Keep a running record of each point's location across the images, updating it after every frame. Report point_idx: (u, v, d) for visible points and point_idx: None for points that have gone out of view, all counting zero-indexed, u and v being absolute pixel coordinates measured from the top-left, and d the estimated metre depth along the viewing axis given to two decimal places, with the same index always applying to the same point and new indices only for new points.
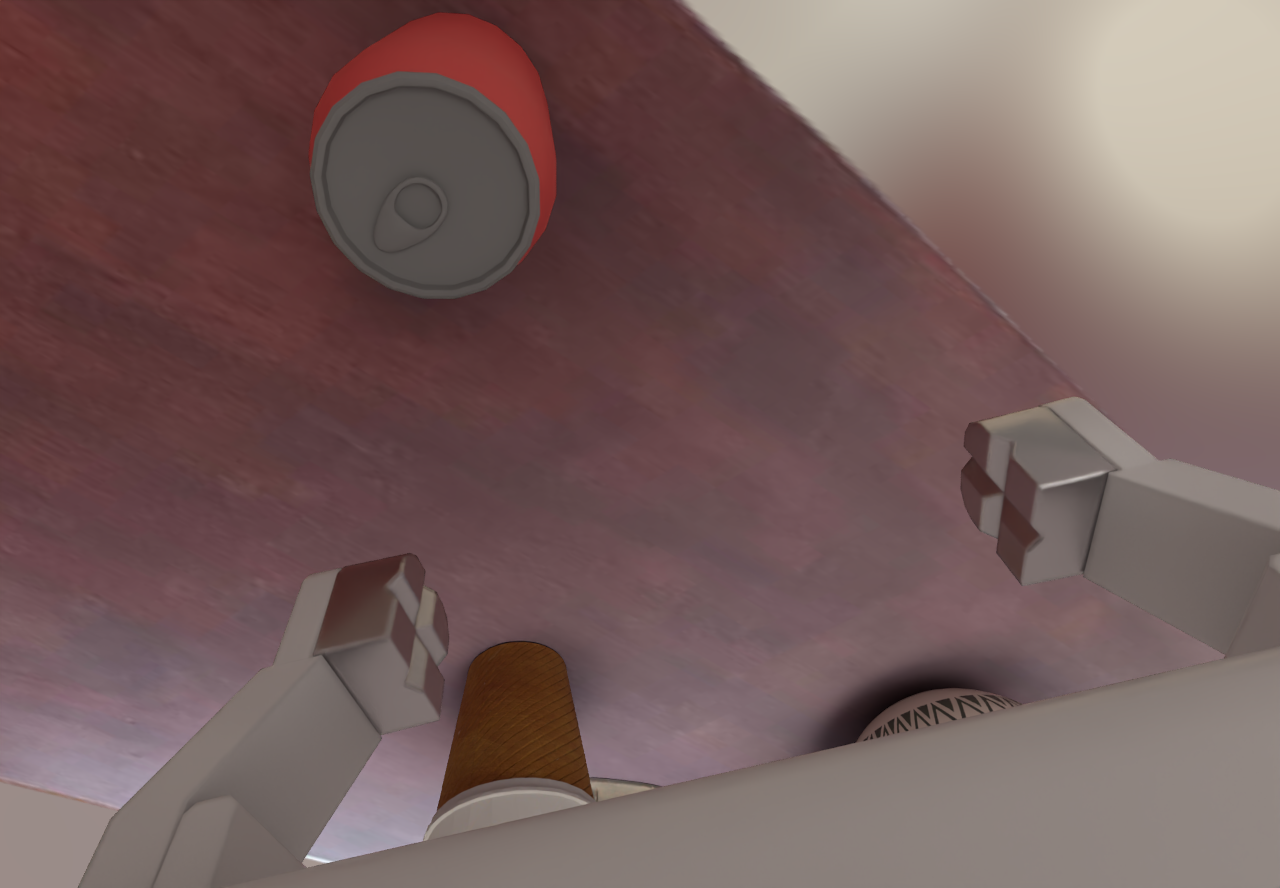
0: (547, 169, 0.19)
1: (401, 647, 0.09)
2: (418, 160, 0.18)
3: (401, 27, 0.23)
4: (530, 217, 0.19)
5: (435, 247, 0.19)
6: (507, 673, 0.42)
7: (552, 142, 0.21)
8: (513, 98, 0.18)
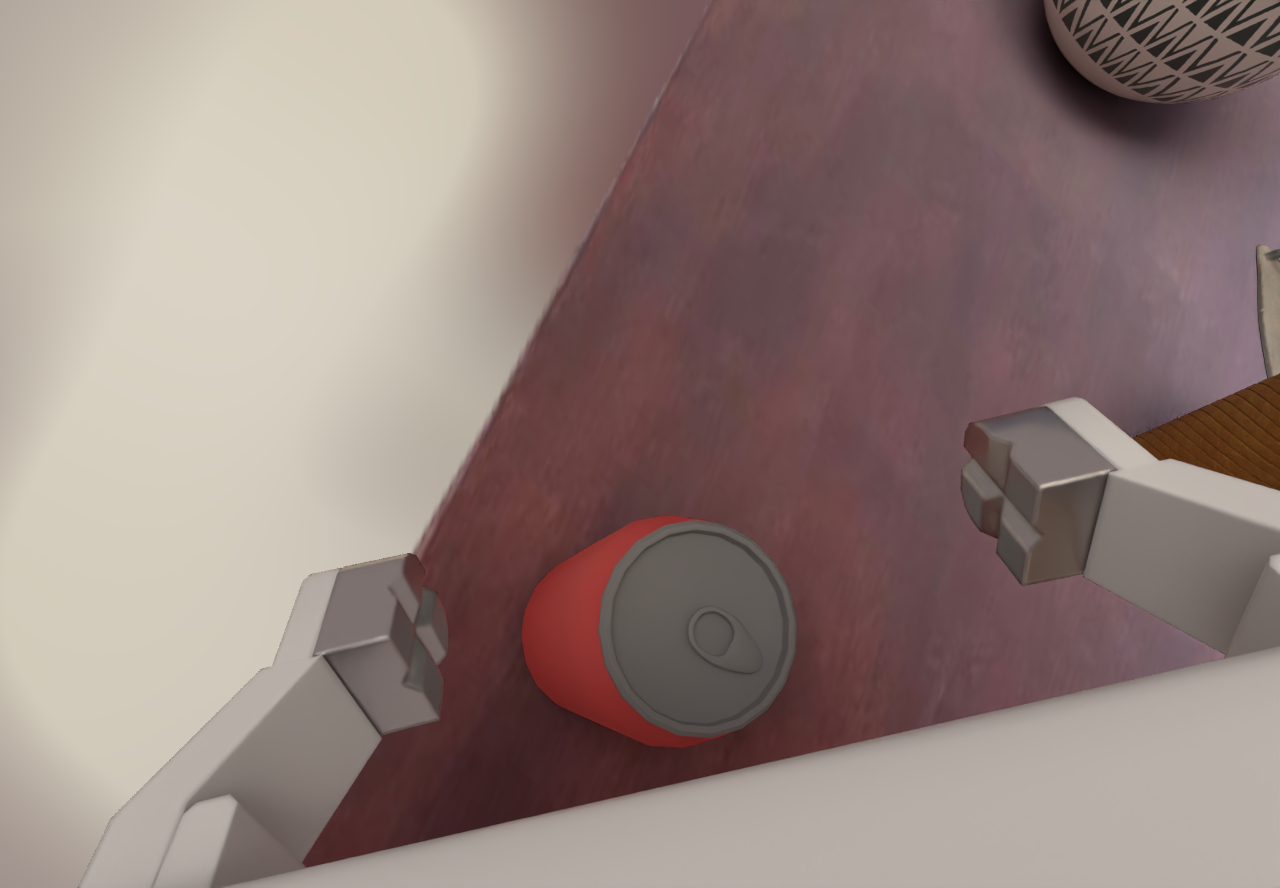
0: (650, 523, 0.21)
1: (400, 647, 0.09)
2: (673, 639, 0.19)
3: (549, 689, 0.26)
4: (698, 527, 0.20)
5: (745, 613, 0.20)
6: None
7: None
8: (598, 562, 0.20)
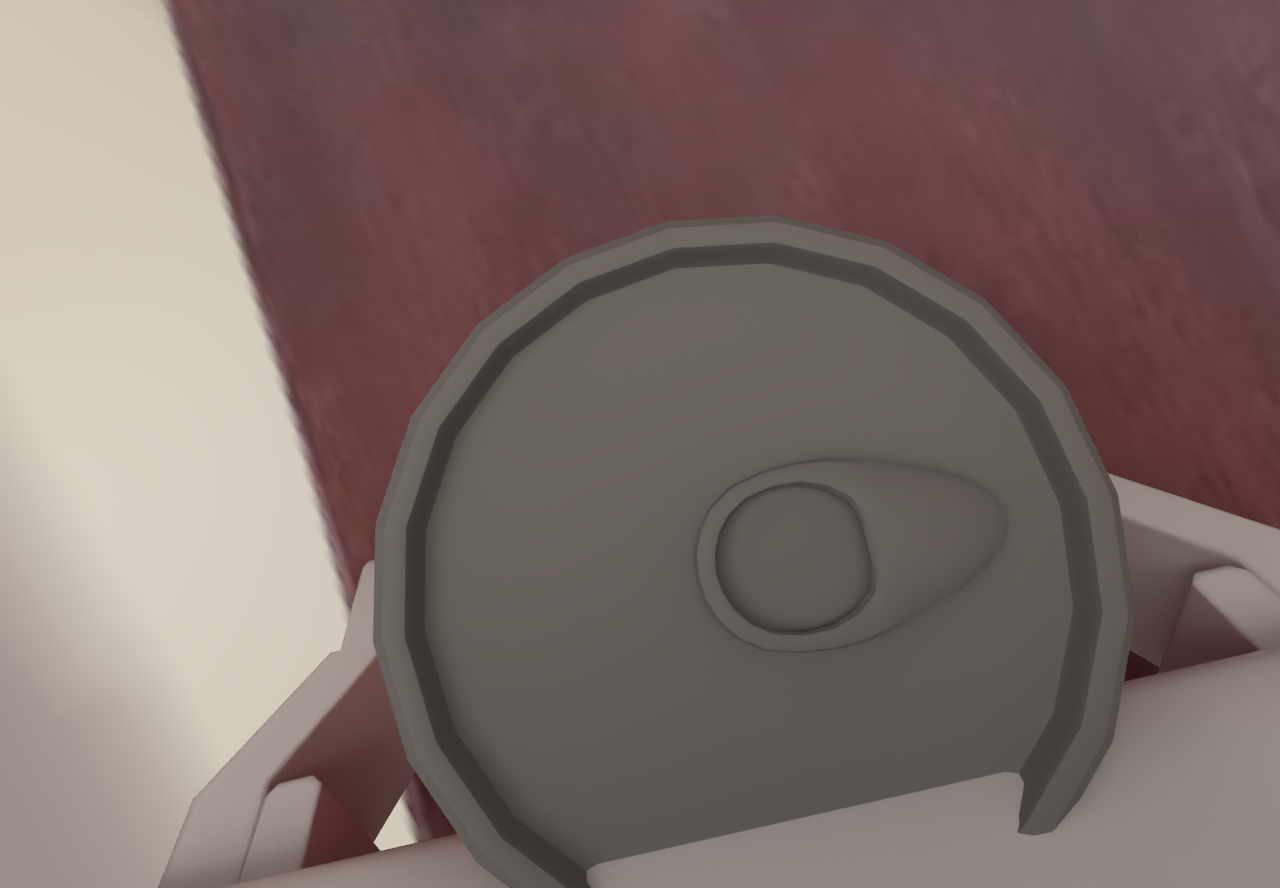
0: None
1: None
2: (706, 670, 0.05)
3: None
4: (501, 332, 0.06)
5: (834, 417, 0.06)
6: None
7: None
8: None
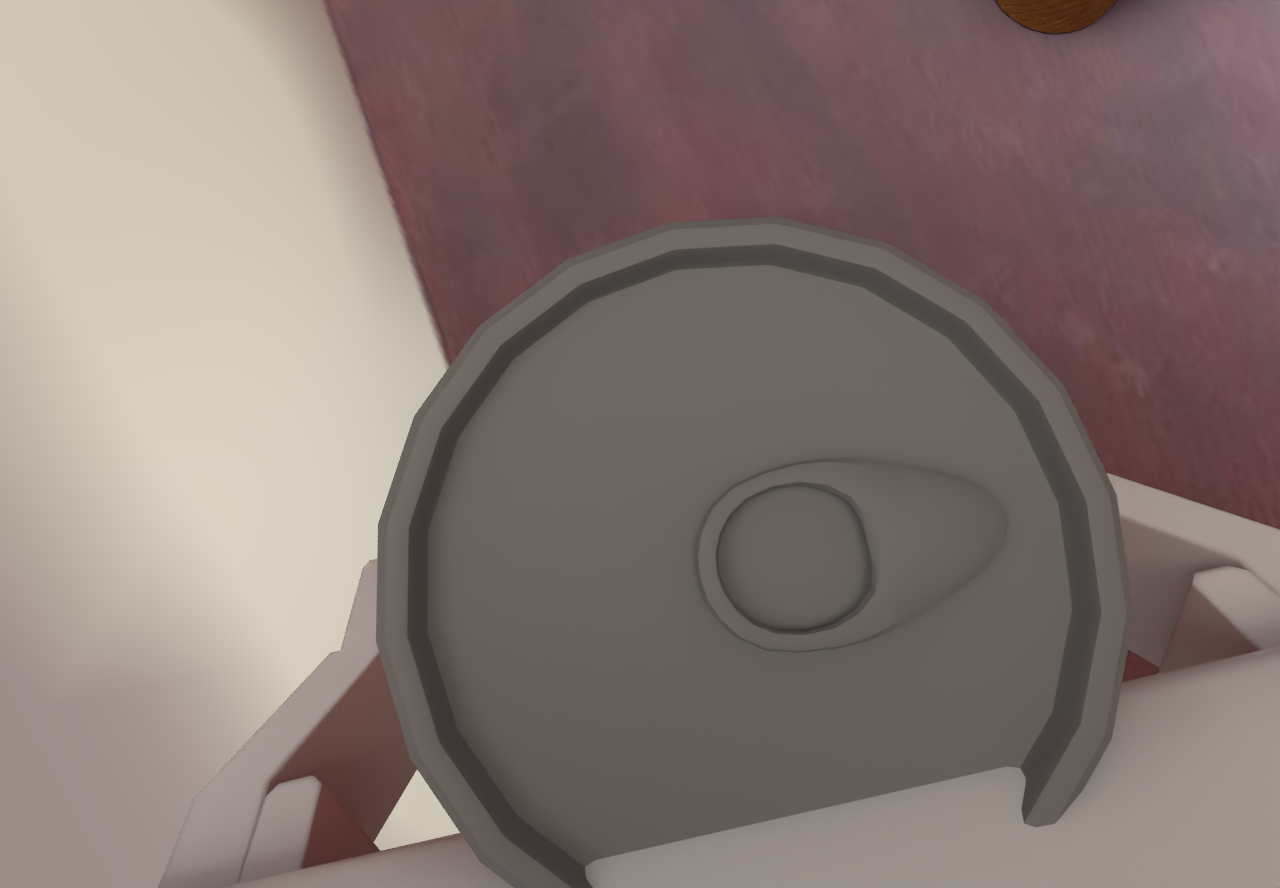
0: None
1: None
2: (707, 669, 0.05)
3: None
4: (501, 333, 0.06)
5: (836, 417, 0.06)
6: None
7: None
8: None
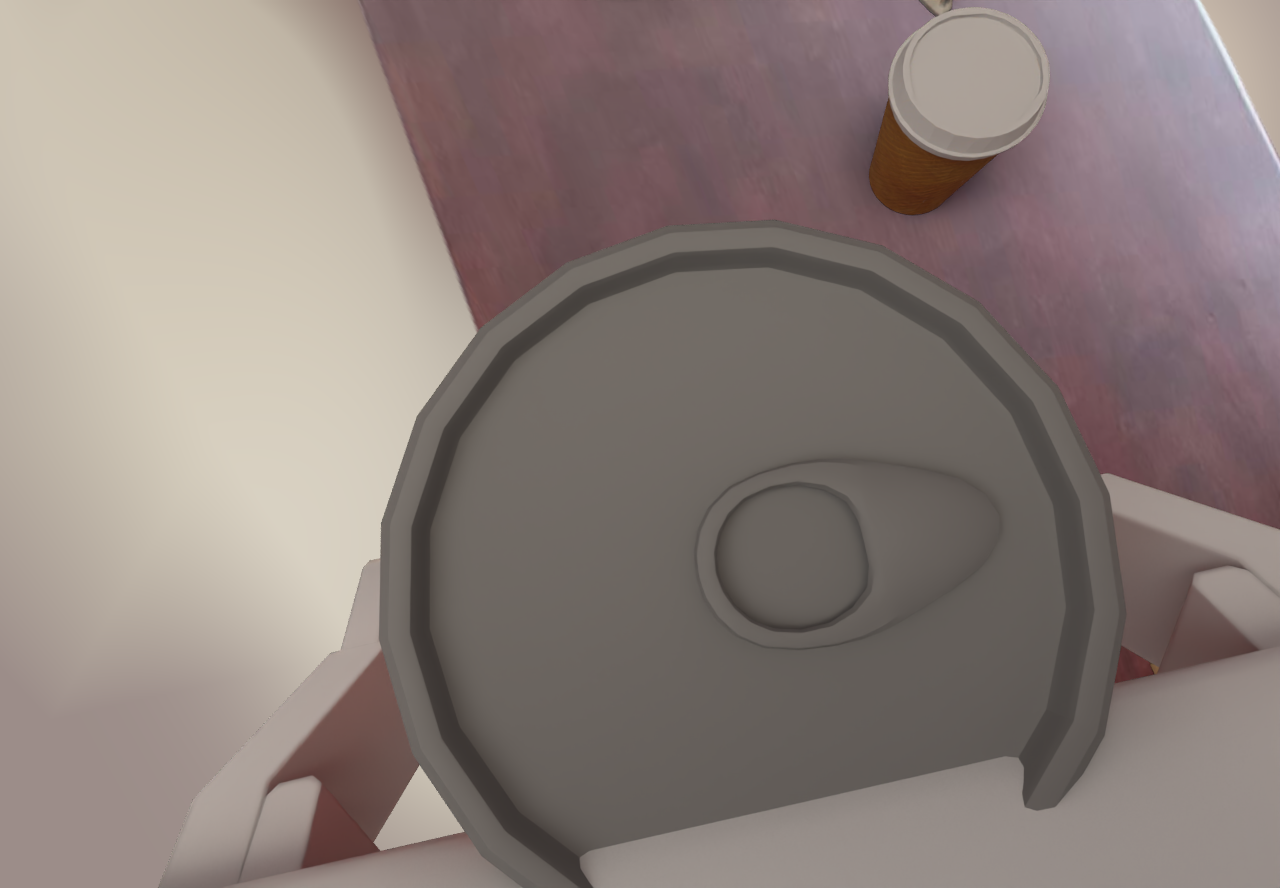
0: None
1: None
2: (705, 666, 0.06)
3: None
4: (503, 335, 0.06)
5: (833, 418, 0.06)
6: (904, 197, 0.52)
7: None
8: None
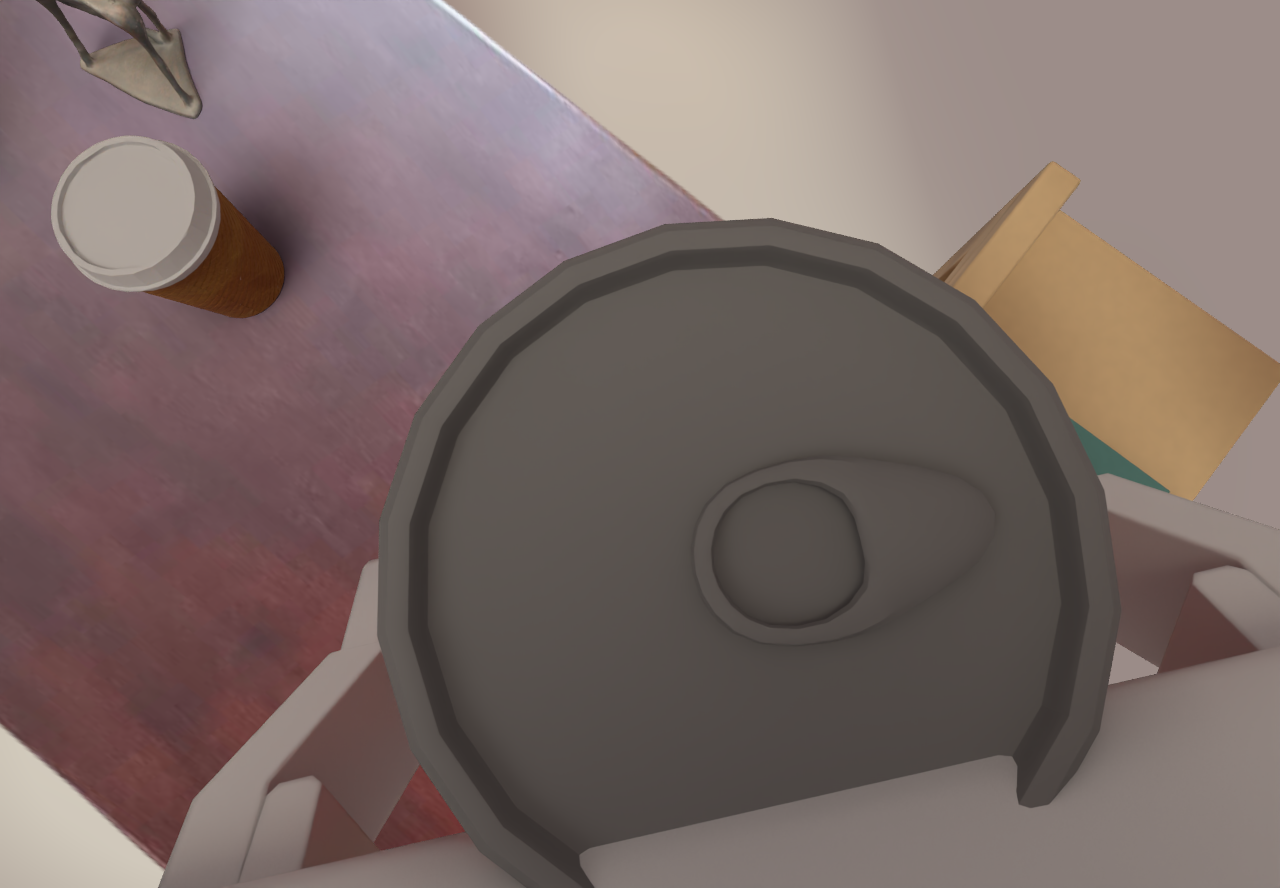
0: None
1: None
2: (702, 664, 0.06)
3: None
4: (501, 333, 0.06)
5: (829, 415, 0.06)
6: (223, 310, 0.51)
7: None
8: None
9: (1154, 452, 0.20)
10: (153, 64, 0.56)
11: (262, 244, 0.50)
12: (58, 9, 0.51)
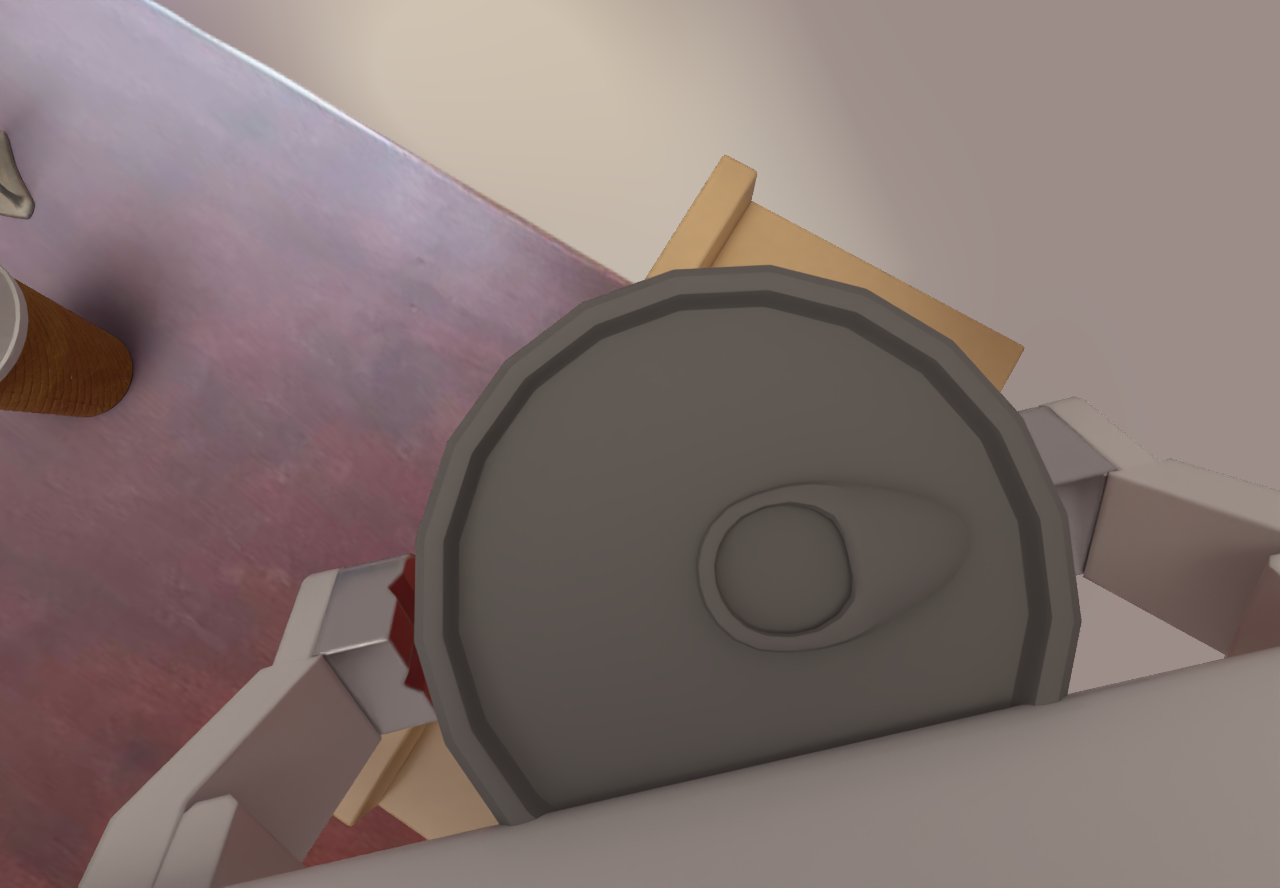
0: None
1: (401, 647, 0.09)
2: (706, 667, 0.06)
3: None
4: (526, 369, 0.06)
5: (822, 444, 0.06)
6: (65, 412, 0.48)
7: None
8: None
9: None
10: None
11: (97, 338, 0.48)
12: None
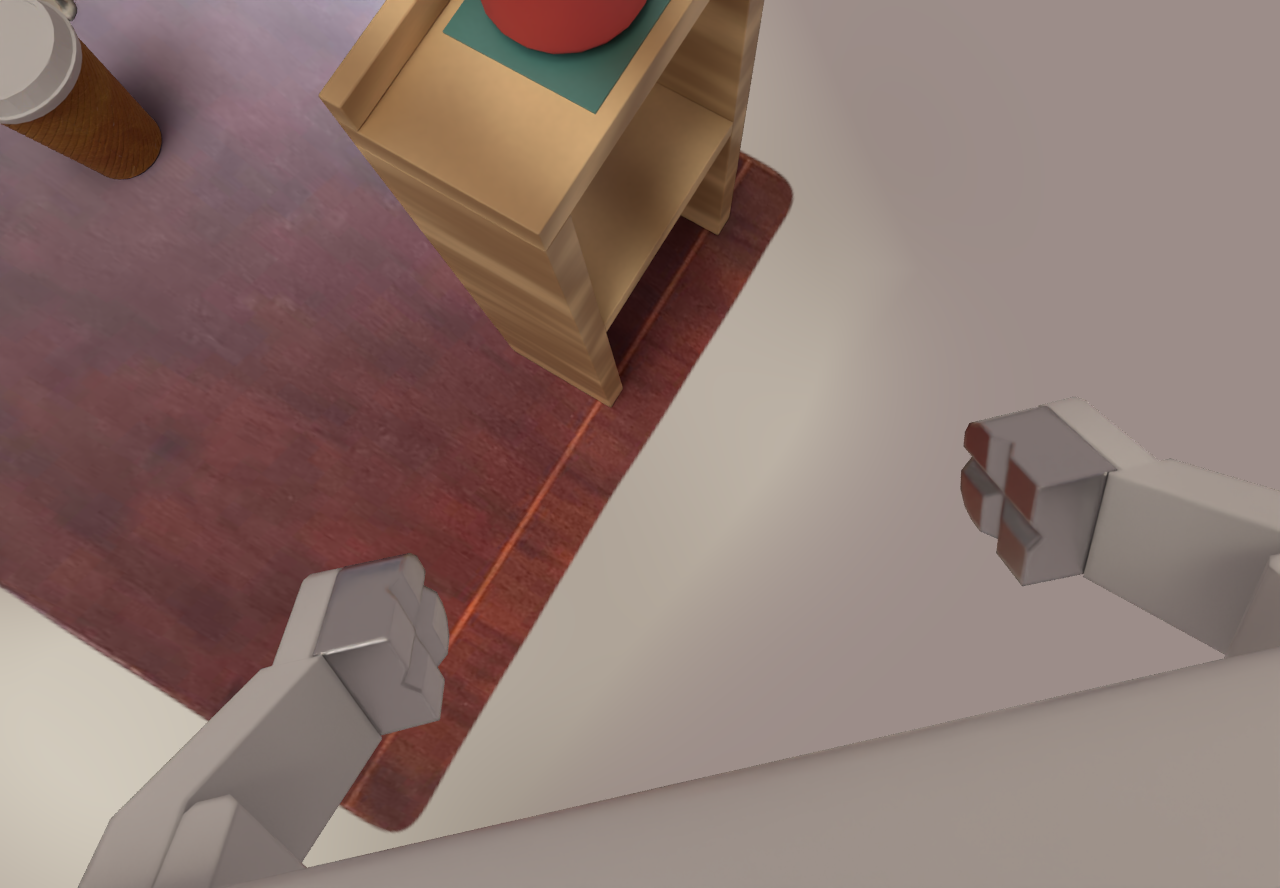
0: None
1: (401, 647, 0.09)
2: None
3: None
4: None
5: None
6: (106, 164, 0.58)
7: None
8: None
9: None
10: None
11: (133, 102, 0.57)
12: None
